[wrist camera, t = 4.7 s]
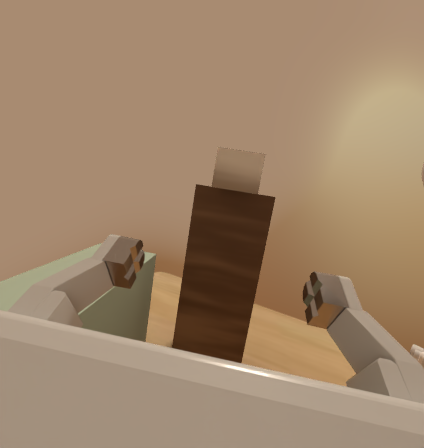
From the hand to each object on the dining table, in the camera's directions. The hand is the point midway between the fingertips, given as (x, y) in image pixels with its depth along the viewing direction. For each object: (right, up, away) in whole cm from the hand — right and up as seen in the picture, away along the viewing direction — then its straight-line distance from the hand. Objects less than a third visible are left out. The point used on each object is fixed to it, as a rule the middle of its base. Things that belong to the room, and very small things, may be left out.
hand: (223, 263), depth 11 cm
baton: (+2, +6, +14) cm, 16 cm away
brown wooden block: (-2, -19, +23) cm, 30 cm away
